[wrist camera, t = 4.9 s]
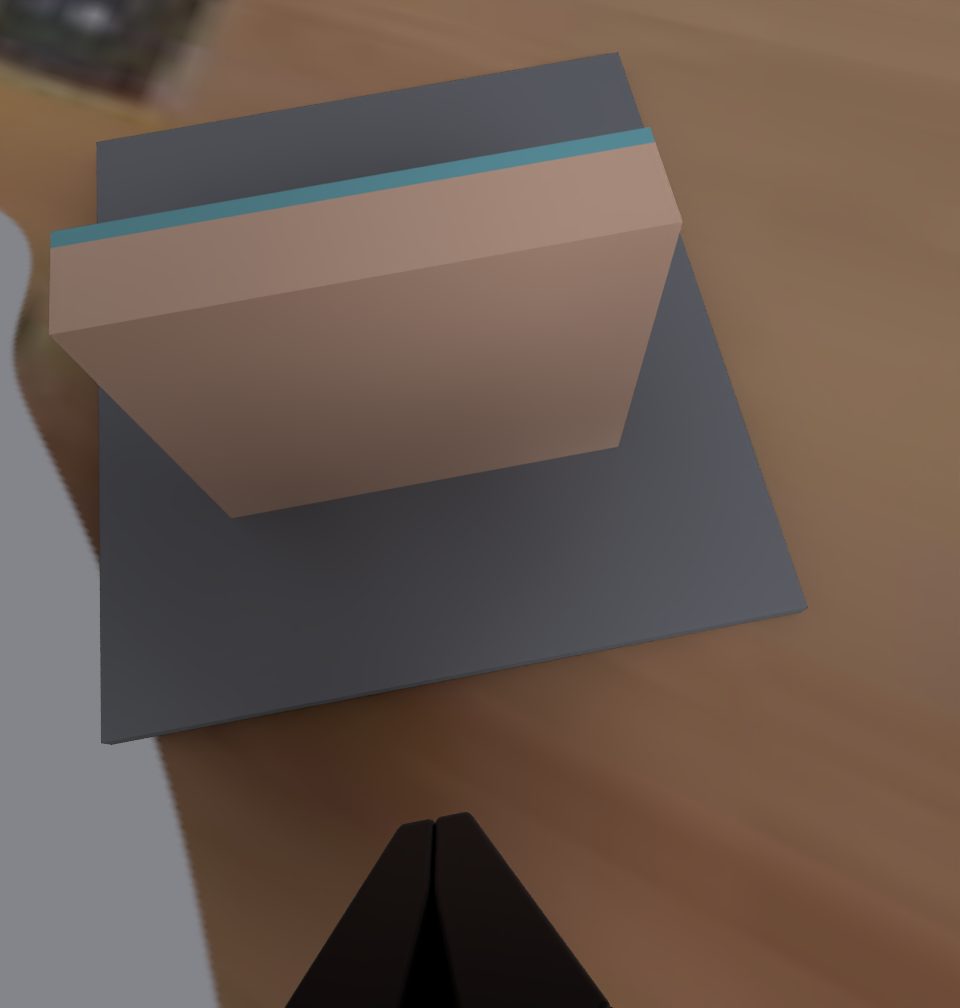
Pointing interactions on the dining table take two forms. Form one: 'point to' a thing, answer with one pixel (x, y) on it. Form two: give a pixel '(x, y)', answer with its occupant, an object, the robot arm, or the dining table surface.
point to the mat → (431, 505)
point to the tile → (379, 320)
